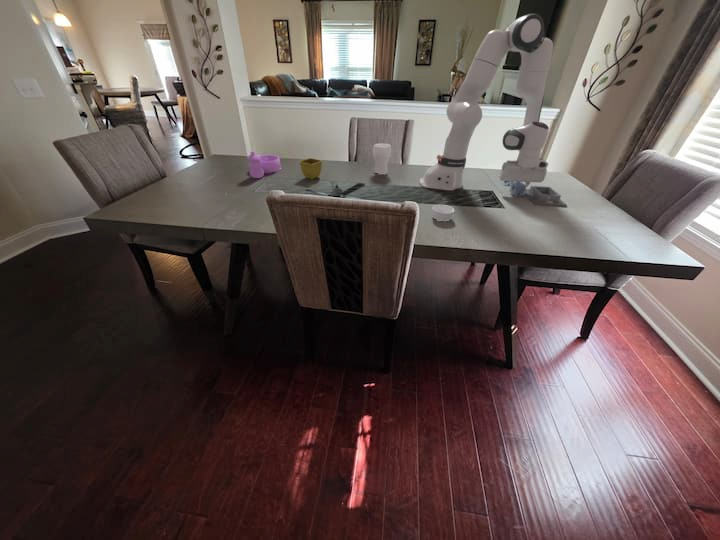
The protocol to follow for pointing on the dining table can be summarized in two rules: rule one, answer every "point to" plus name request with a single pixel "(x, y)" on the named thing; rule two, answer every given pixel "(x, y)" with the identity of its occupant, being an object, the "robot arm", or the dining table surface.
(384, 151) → the cup
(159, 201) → the dining table surface
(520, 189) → the servo
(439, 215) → the ramekin
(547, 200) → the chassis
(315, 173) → the flower pot
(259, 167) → the container set
